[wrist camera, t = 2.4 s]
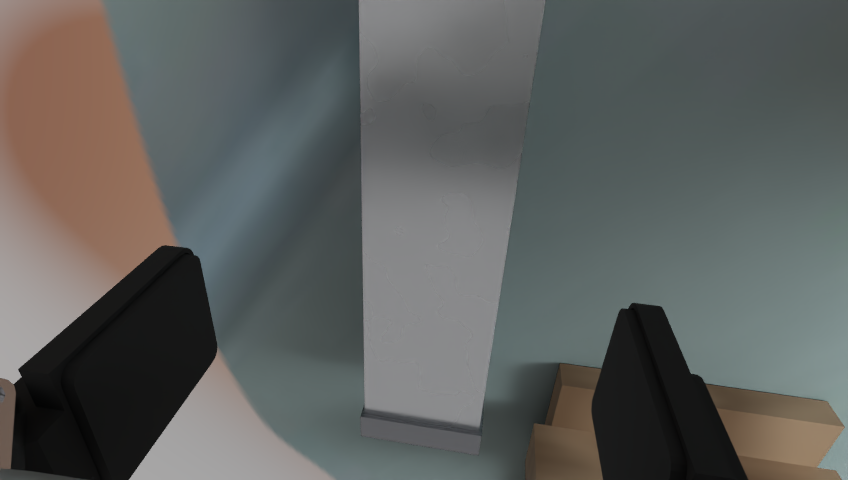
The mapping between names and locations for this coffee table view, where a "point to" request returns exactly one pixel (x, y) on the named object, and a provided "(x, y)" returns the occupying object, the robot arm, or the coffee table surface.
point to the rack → (739, 411)
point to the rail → (438, 204)
